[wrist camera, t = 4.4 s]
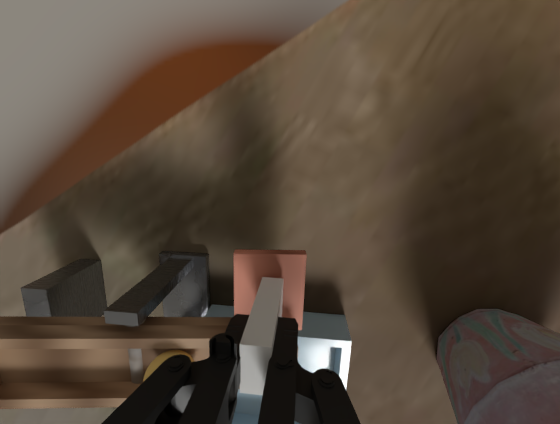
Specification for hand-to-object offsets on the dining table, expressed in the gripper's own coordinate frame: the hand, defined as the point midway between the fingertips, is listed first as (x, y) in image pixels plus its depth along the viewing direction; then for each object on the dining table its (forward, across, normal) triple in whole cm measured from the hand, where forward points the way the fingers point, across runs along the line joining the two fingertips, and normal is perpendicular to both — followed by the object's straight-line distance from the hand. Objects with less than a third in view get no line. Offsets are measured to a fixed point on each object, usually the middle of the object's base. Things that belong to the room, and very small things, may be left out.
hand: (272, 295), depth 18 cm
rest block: (+9, -21, -6) cm, 24 cm away
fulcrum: (+9, -10, -6) cm, 15 cm away
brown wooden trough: (+1, -10, -3) cm, 11 cm away
